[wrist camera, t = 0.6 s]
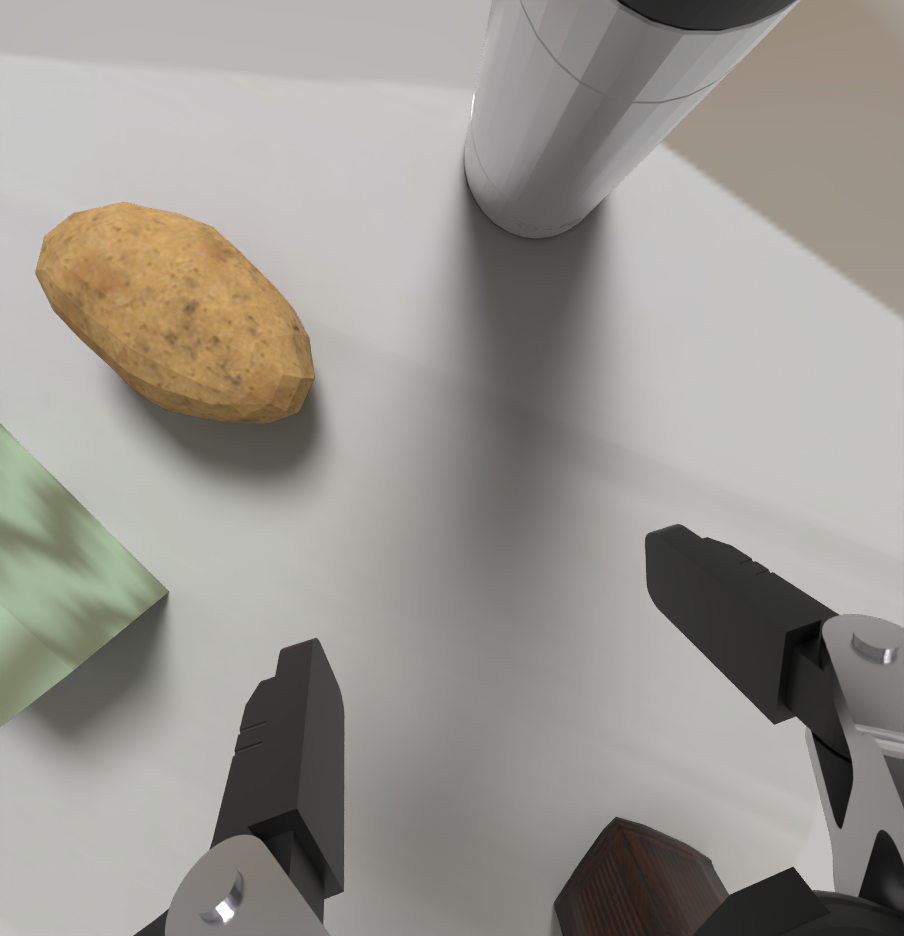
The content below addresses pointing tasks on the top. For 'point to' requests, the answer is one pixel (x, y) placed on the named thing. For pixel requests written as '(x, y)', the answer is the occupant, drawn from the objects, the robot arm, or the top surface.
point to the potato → (177, 313)
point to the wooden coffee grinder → (639, 886)
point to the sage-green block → (56, 581)
